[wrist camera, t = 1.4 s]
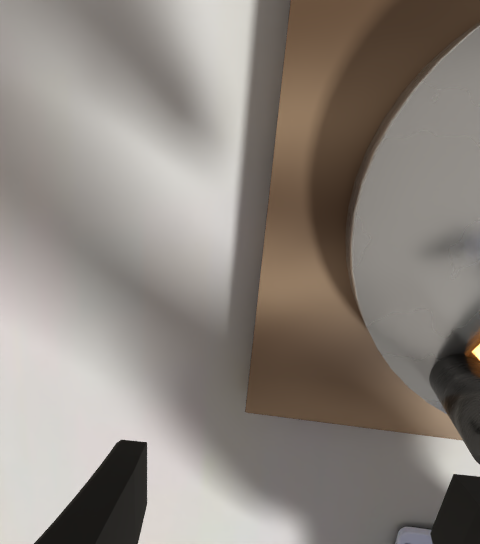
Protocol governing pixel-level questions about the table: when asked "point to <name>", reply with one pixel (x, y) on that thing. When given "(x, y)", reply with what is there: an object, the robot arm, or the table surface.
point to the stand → (336, 211)
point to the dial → (425, 236)
